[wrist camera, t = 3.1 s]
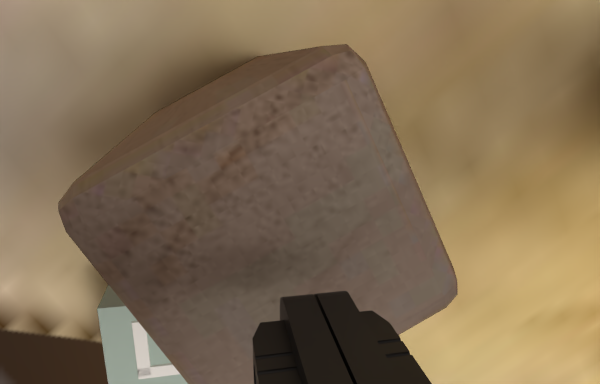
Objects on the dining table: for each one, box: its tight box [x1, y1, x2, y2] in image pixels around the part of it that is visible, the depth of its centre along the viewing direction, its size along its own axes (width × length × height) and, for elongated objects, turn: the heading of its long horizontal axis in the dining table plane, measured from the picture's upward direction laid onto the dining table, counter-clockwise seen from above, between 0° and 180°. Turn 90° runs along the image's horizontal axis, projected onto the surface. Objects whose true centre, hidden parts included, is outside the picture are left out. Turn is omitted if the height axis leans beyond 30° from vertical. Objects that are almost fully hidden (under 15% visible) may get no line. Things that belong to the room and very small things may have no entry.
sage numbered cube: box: [97, 285, 188, 384], centre depth 31 cm, size 7×7×7 cm
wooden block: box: [58, 44, 457, 384], centre depth 22 cm, size 10×10×20 cm
